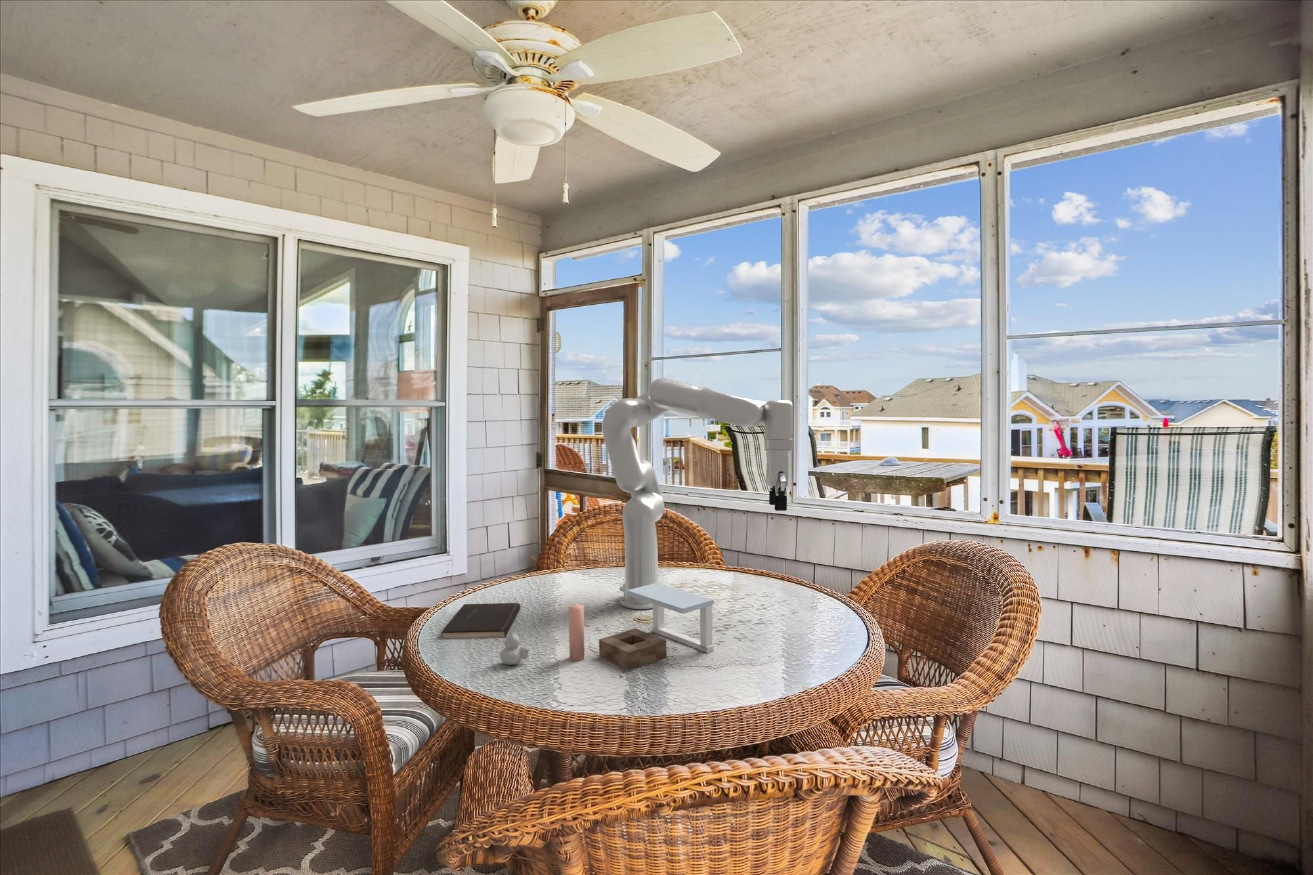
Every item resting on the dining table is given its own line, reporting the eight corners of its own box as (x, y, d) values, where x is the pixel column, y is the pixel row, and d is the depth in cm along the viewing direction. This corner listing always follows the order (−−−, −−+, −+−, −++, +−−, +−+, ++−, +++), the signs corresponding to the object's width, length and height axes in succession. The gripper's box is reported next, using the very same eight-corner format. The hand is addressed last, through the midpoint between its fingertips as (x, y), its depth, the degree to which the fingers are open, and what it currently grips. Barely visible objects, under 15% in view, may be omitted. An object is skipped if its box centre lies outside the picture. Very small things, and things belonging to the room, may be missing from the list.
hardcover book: (441, 640, 164) (440, 631, 164) (464, 611, 187) (463, 603, 187) (505, 639, 165) (505, 630, 165) (520, 610, 188) (520, 602, 188)
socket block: (599, 656, 152) (599, 639, 151) (635, 644, 159) (635, 628, 159) (629, 670, 143) (629, 652, 143) (666, 657, 151) (666, 640, 150)
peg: (566, 658, 151) (565, 606, 150) (578, 654, 153) (578, 603, 152) (575, 662, 148) (574, 610, 148) (587, 658, 150) (586, 607, 150)
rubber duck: (503, 659, 151) (503, 624, 150) (532, 659, 150) (531, 624, 150) (497, 668, 145) (496, 632, 145) (526, 668, 145) (526, 632, 145)
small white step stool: (627, 638, 163) (627, 590, 162) (657, 629, 170) (657, 582, 169) (683, 661, 148) (682, 608, 147) (713, 650, 155) (713, 599, 154)
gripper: (760, 443, 188) (759, 502, 189) (769, 447, 171) (768, 512, 172) (786, 443, 188) (786, 503, 189) (798, 447, 170) (797, 513, 171)
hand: (777, 507), depth 180 cm, fingers open, 9 cm apart
